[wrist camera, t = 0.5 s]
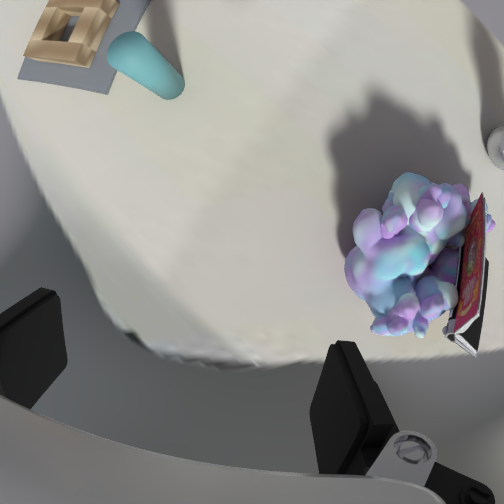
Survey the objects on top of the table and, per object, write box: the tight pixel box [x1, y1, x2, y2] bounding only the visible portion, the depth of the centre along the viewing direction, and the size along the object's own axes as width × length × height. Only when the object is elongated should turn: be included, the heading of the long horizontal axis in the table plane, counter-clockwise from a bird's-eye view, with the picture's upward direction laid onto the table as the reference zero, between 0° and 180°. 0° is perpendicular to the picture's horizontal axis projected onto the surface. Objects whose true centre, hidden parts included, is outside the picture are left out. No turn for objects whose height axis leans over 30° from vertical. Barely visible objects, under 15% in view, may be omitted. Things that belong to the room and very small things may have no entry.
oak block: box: [23, 0, 119, 68], centre depth 29 cm, size 10×10×4 cm
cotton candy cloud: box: [344, 172, 495, 357], centre depth 32 cm, size 20×22×18 cm
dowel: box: [107, 31, 185, 100], centre depth 28 cm, size 4×4×14 cm
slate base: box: [17, 0, 150, 95], centre depth 31 cm, size 24×18×1 cm
